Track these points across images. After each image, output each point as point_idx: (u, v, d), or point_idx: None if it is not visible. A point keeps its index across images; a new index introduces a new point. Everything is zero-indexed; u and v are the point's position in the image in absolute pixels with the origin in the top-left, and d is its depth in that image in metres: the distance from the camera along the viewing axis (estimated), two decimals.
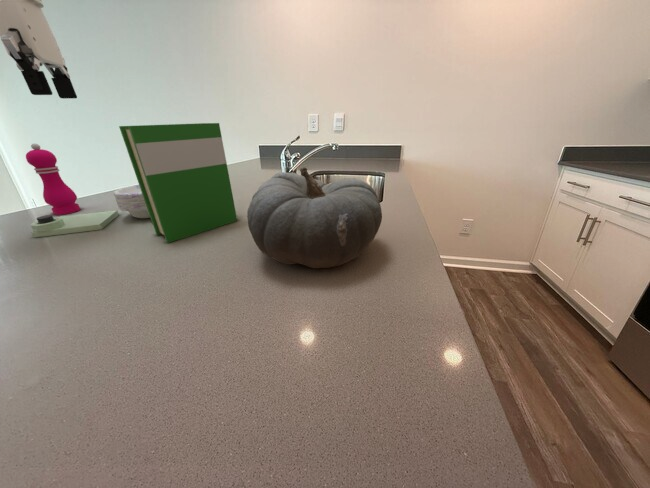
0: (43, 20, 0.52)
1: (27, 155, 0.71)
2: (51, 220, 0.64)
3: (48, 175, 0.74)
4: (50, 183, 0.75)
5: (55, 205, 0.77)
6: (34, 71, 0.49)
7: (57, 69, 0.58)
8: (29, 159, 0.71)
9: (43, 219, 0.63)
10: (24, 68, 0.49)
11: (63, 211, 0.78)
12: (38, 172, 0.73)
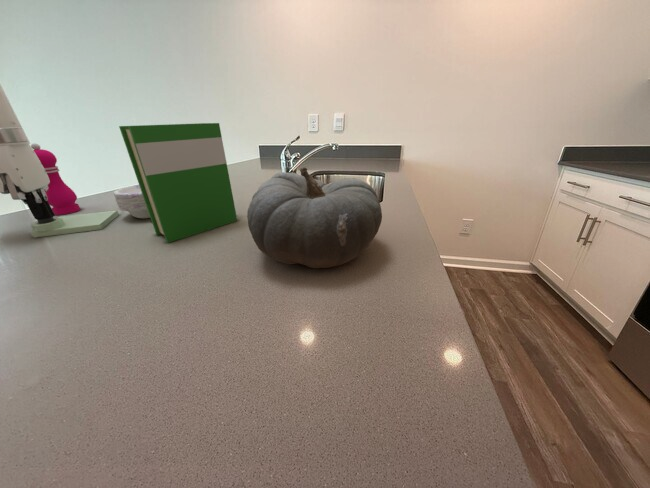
0: (30, 154, 0.59)
1: None
2: (52, 221, 0.64)
3: (48, 175, 0.74)
4: (50, 183, 0.75)
5: (55, 205, 0.77)
6: (37, 204, 0.61)
7: None
8: None
9: (44, 220, 0.63)
10: (29, 203, 0.60)
11: (63, 211, 0.78)
12: None
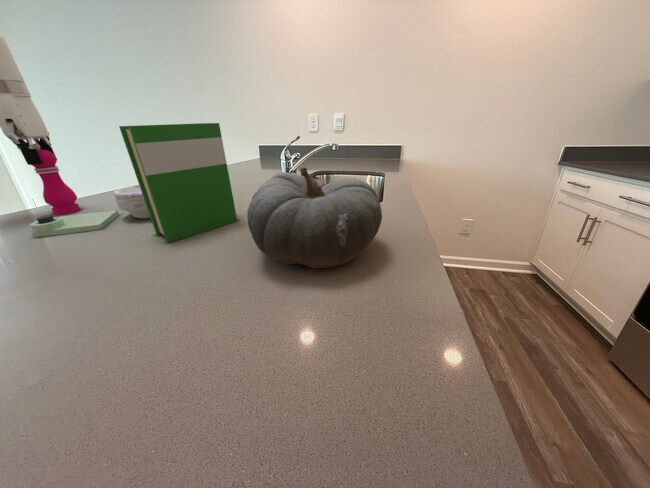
0: (31, 106, 0.70)
1: None
2: (51, 220, 0.64)
3: (48, 175, 0.74)
4: (50, 183, 0.75)
5: (55, 205, 0.77)
6: (29, 149, 0.69)
7: (41, 140, 0.75)
8: None
9: (43, 219, 0.63)
10: (22, 148, 0.68)
11: (63, 211, 0.78)
12: (38, 172, 0.73)
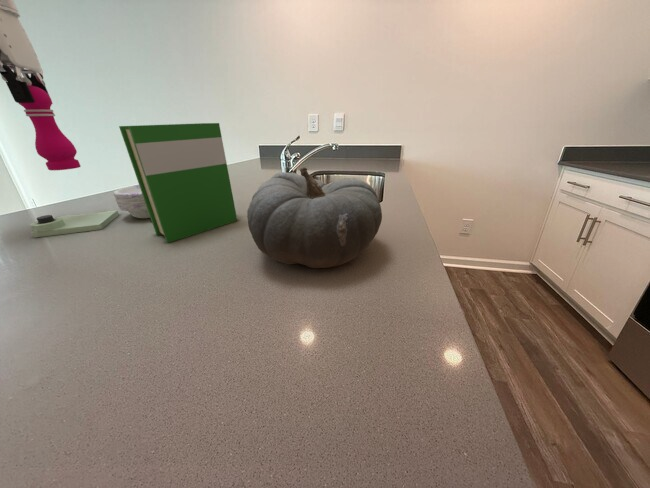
0: (20, 28, 0.56)
1: None
2: (51, 220, 0.64)
3: (42, 118, 0.60)
4: (43, 129, 0.61)
5: (50, 158, 0.63)
6: (17, 82, 0.55)
7: (33, 77, 0.61)
8: None
9: (43, 219, 0.63)
10: (8, 79, 0.54)
11: (60, 166, 0.64)
12: (29, 114, 0.59)
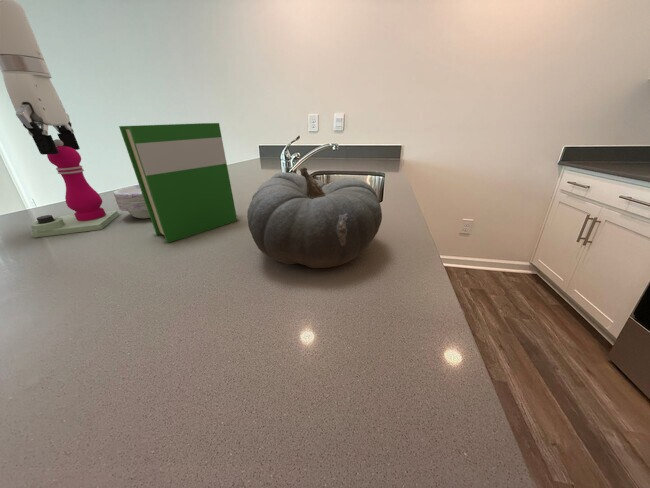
0: (51, 89, 0.59)
1: None
2: (51, 220, 0.64)
3: (72, 175, 0.64)
4: (74, 184, 0.65)
5: (79, 210, 0.67)
6: (43, 136, 0.57)
7: (63, 125, 0.66)
8: (51, 157, 0.61)
9: (43, 219, 0.63)
10: (35, 134, 0.56)
11: (88, 217, 0.68)
12: (61, 172, 0.63)
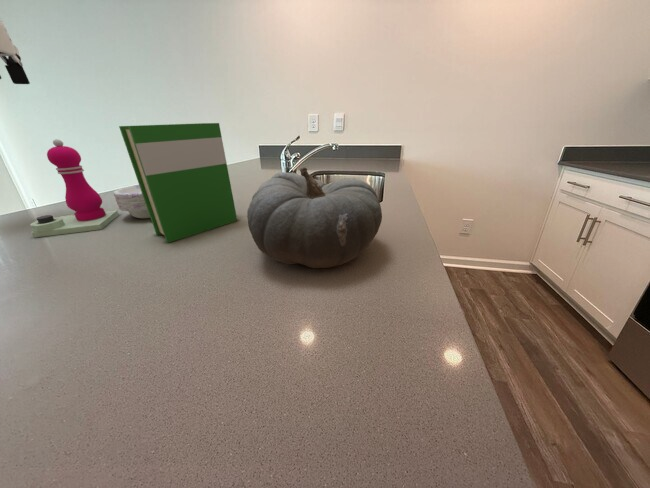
0: None
1: (49, 153, 0.61)
2: (51, 220, 0.64)
3: (72, 175, 0.64)
4: (74, 184, 0.65)
5: (79, 210, 0.67)
6: None
7: (11, 58, 0.65)
8: (51, 157, 0.61)
9: (43, 219, 0.63)
10: None
11: (88, 217, 0.68)
12: (61, 172, 0.63)
